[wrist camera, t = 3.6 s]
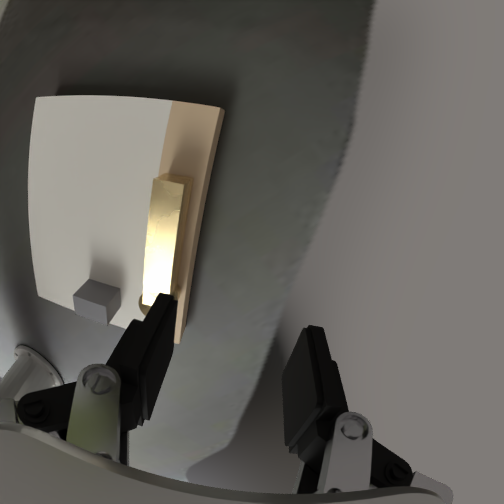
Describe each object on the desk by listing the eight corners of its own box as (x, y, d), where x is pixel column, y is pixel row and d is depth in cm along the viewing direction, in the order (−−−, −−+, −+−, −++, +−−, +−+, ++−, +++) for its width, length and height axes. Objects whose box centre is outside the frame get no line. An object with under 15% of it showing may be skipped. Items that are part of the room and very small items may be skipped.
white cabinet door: (185, 327, 32) (171, 366, 26) (50, 284, 31) (23, 310, 25) (225, 110, 23) (212, 103, 17) (53, 97, 22) (14, 97, 16)
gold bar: (179, 306, 27) (170, 325, 24) (148, 298, 27) (138, 316, 24) (198, 179, 22) (189, 185, 19) (161, 171, 22) (148, 177, 19)
